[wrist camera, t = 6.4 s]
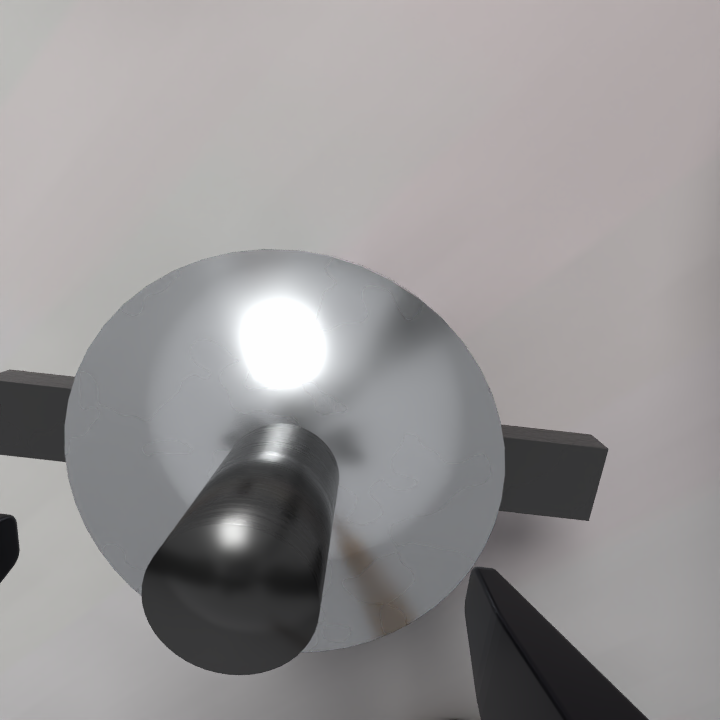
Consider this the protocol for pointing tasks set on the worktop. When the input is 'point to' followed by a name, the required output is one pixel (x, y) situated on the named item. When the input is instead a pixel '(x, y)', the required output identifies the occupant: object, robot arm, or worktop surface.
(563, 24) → the worktop surface
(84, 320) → the worktop surface
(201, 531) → the lid
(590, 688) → the robot arm
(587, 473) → the pot
